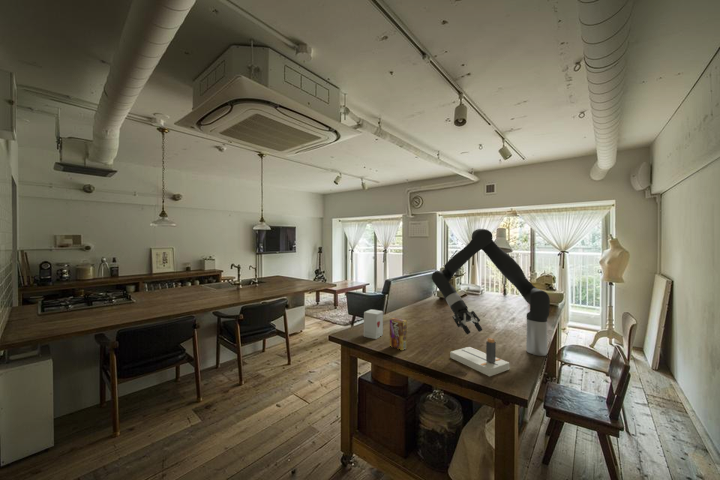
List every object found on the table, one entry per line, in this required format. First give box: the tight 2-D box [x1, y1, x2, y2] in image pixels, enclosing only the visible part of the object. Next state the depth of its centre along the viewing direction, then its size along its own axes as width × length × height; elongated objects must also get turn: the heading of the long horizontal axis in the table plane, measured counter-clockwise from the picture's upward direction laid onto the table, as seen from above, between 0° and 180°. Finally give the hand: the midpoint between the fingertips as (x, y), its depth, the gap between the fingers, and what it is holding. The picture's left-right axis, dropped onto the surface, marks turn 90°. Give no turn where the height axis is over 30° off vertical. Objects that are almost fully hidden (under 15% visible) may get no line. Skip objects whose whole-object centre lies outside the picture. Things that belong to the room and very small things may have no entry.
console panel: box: [449, 346, 511, 377], centre depth 134 cm, size 14×22×3 cm, turn 29°
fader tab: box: [485, 337, 497, 363], centre depth 128 cm, size 3×3×10 cm
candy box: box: [388, 317, 408, 351], centre depth 153 cm, size 9×4×15 cm, turn 47°
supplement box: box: [363, 308, 384, 340], centre depth 171 cm, size 9×9×15 cm
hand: (475, 332), depth 136 cm, fingers open, 8 cm apart
